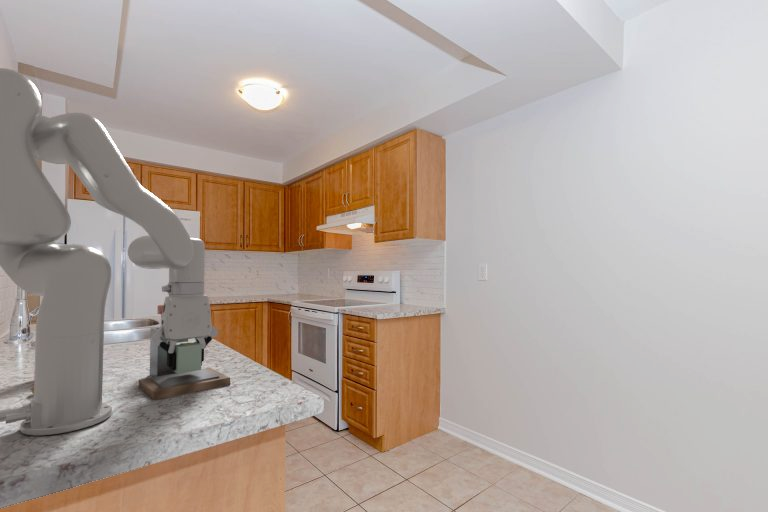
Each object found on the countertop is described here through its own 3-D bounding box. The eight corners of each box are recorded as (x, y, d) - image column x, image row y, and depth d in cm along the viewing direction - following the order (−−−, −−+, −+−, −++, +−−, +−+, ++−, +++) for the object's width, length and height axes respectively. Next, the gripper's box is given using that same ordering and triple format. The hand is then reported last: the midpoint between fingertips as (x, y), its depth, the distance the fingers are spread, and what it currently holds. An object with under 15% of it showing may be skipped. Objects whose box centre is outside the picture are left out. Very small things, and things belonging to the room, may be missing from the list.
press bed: (153, 400, 80) (153, 390, 80) (138, 386, 89) (138, 378, 89) (230, 384, 91) (230, 375, 91) (209, 373, 100) (209, 366, 101)
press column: (157, 380, 95) (158, 331, 95) (149, 374, 100) (150, 328, 100) (187, 374, 100) (188, 328, 100) (178, 370, 105) (179, 325, 105)
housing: (178, 374, 87) (178, 346, 87) (170, 369, 91) (170, 342, 91) (201, 369, 90) (201, 343, 90) (192, 365, 94) (192, 340, 95)
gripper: (150, 292, 83) (148, 377, 82) (228, 289, 94) (228, 363, 94) (141, 290, 88) (140, 371, 87) (217, 288, 100) (216, 358, 99)
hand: (185, 366), depth 91 cm, fingers closed on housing, 5 cm apart
